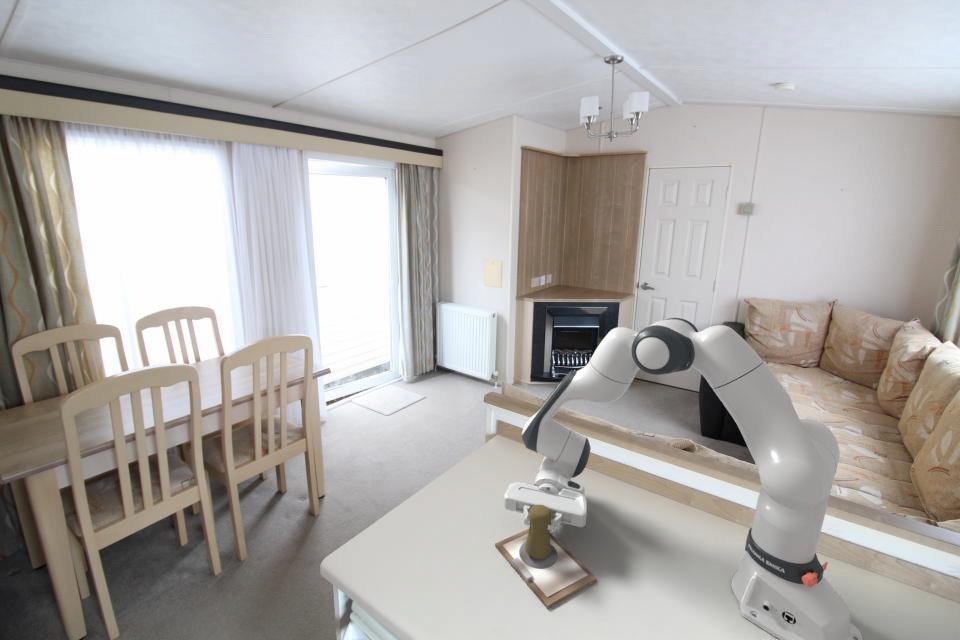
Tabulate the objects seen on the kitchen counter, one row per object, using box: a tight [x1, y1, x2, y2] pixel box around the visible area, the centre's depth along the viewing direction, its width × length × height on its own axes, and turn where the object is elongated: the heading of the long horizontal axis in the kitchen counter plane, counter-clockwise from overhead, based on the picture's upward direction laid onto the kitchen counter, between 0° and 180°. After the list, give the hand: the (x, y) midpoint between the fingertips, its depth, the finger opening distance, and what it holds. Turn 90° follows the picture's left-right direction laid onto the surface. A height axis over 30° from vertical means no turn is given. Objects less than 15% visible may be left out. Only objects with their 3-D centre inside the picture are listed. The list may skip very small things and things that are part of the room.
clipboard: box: [494, 528, 598, 609], centre depth 105 cm, size 20×14×2 cm
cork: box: [525, 505, 552, 559], centre depth 105 cm, size 6×6×11 cm
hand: (538, 525), depth 103 cm, fingers closed on cork, 4 cm apart
